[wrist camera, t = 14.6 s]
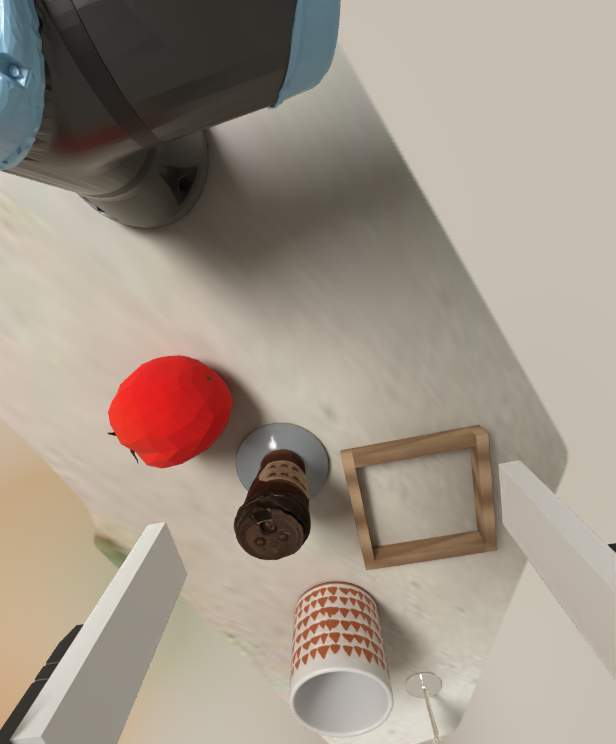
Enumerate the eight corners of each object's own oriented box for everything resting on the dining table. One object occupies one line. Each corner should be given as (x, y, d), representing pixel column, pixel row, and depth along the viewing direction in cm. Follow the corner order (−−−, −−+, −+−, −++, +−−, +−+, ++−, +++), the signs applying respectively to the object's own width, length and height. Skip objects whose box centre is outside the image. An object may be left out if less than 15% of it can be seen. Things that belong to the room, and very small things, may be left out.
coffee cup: (264, 430, 47) (246, 490, 35) (321, 450, 48) (323, 516, 35) (245, 482, 49) (221, 555, 37) (299, 500, 50) (294, 577, 38)
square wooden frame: (340, 450, 48) (341, 460, 46) (479, 424, 47) (488, 433, 44) (363, 556, 54) (366, 570, 51) (488, 537, 52) (497, 550, 50)
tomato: (227, 352, 48) (152, 397, 50) (161, 321, 36) (68, 382, 38) (260, 436, 44) (177, 480, 46) (198, 433, 32) (92, 493, 34)
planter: (321, 651, 60) (322, 749, 48) (279, 599, 57) (269, 691, 45) (391, 623, 58) (411, 719, 46) (352, 567, 55) (362, 654, 42)
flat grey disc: (225, 432, 48) (224, 434, 47) (317, 414, 47) (317, 416, 46) (250, 509, 52) (249, 512, 51) (336, 494, 50) (336, 497, 50)
